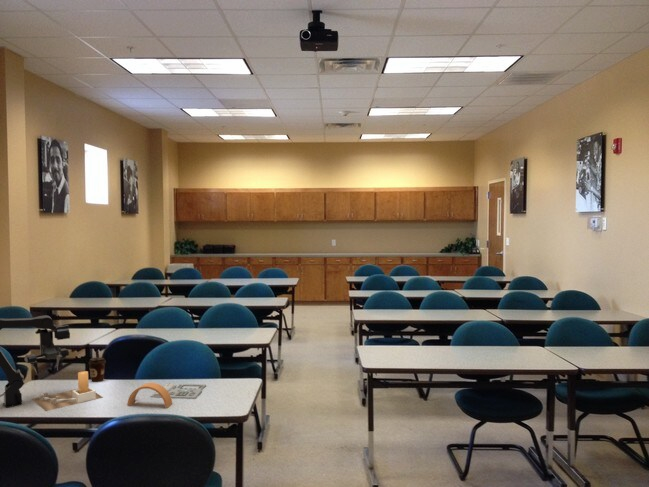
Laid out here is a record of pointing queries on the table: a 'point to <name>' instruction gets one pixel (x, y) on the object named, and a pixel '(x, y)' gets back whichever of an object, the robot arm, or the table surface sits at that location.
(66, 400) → the cable board
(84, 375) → the tan cylinder
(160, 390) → the arch
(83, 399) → the end holder
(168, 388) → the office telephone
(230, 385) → the table surface
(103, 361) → the coffee cup
